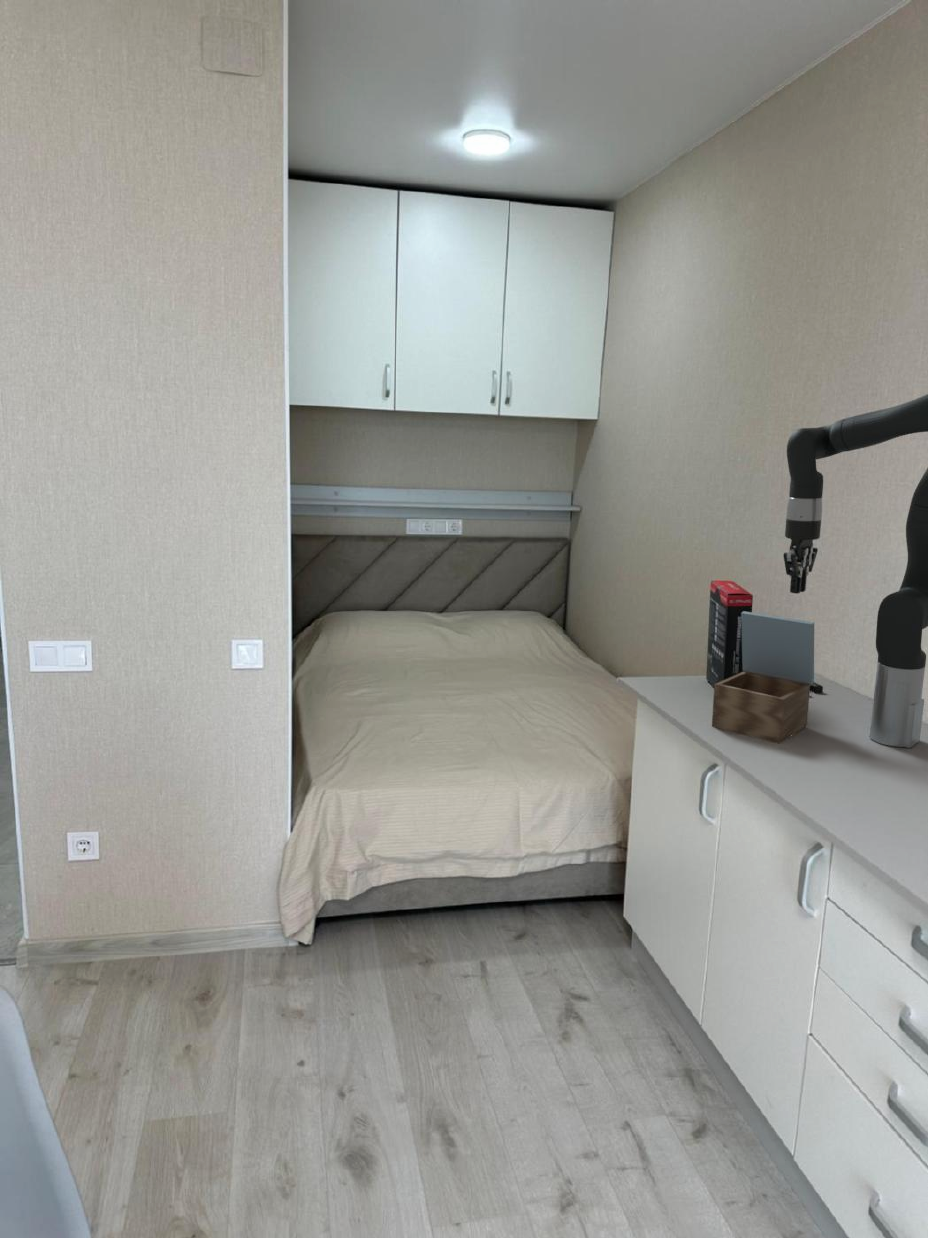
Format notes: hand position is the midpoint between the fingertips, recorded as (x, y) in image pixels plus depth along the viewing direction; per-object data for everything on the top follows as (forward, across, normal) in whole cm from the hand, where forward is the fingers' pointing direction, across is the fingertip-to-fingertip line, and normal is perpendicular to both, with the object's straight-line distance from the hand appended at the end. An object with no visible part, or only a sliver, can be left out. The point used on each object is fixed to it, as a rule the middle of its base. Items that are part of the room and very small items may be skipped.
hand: (797, 591), depth 207 cm
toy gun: (+30, +16, +5) cm, 34 cm away
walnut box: (+29, -15, 0) cm, 33 cm away
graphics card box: (+29, +5, +19) cm, 35 cm away
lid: (+12, -9, 0) cm, 15 cm away
